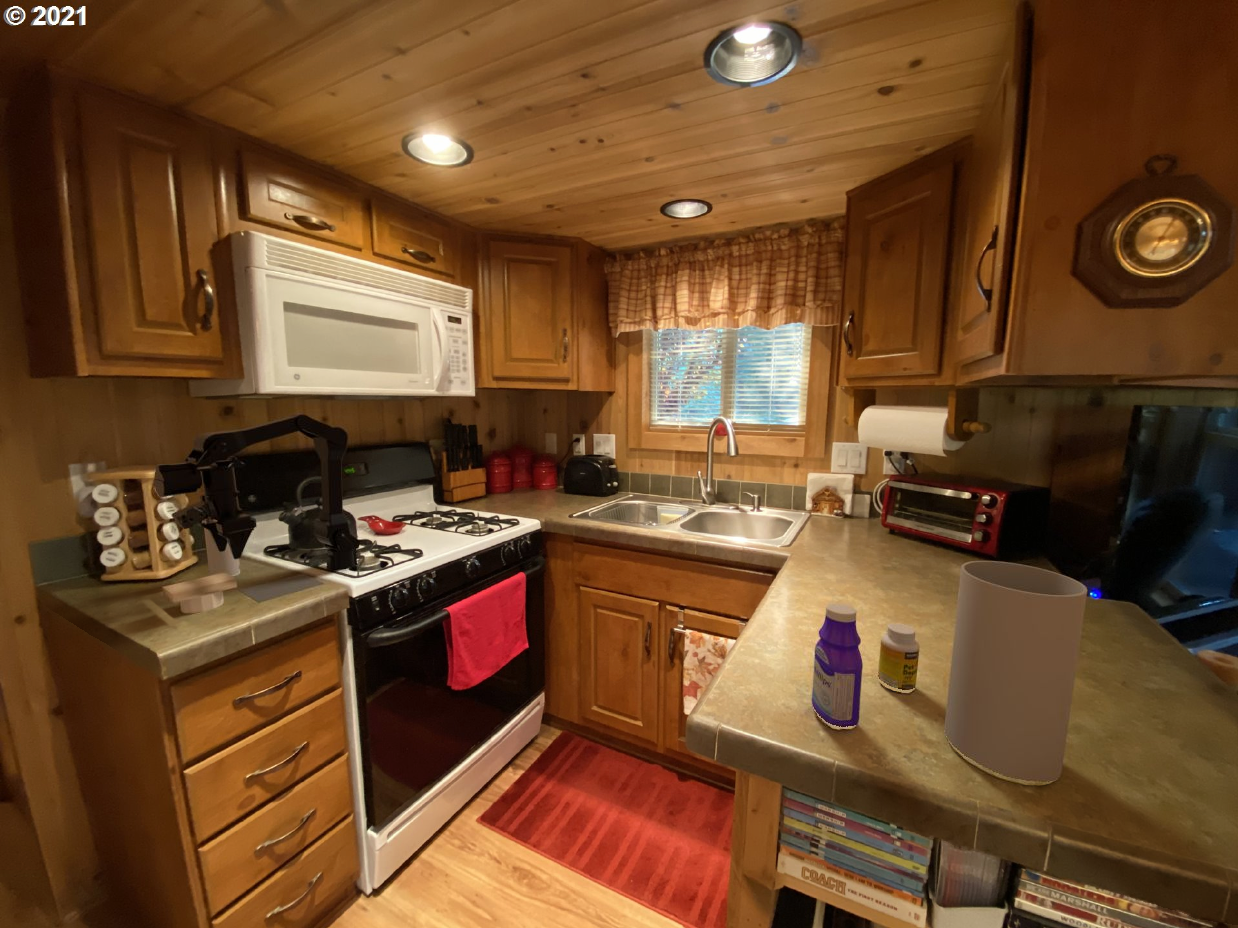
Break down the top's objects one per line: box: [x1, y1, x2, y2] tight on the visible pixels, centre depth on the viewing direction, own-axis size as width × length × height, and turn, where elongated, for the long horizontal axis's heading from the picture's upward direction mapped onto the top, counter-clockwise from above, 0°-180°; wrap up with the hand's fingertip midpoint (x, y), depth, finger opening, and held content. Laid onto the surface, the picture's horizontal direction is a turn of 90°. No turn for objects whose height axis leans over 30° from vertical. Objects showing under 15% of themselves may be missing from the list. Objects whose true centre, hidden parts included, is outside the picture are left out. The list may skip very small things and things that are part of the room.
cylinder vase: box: [943, 560, 1088, 782], centre depth 64 cm, size 12×12×25 cm
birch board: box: [162, 572, 238, 604], centre depth 108 cm, size 11×7×2 cm, turn 146°
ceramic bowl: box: [179, 590, 224, 614], centre depth 108 cm, size 7×7×4 cm
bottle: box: [811, 602, 864, 727], centre depth 72 cm, size 7×6×17 cm
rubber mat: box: [239, 573, 325, 604], centre depth 119 cm, size 14×12×1 cm
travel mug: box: [204, 528, 241, 578], centre depth 126 cm, size 6×7×20 cm
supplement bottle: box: [877, 622, 921, 690], centre depth 81 cm, size 6×6×10 cm
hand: (229, 554), depth 111 cm, fingers open, 9 cm apart
